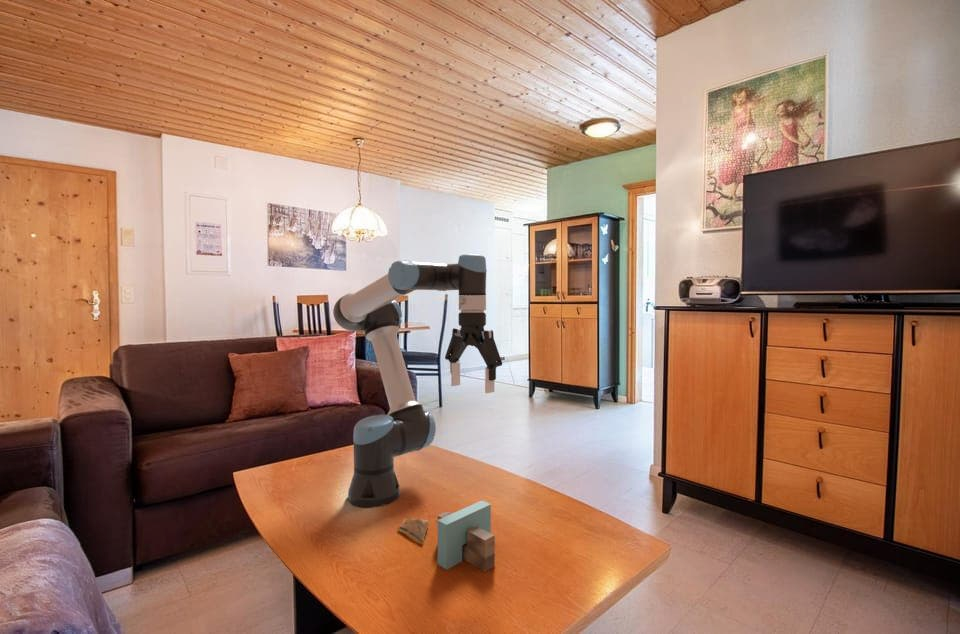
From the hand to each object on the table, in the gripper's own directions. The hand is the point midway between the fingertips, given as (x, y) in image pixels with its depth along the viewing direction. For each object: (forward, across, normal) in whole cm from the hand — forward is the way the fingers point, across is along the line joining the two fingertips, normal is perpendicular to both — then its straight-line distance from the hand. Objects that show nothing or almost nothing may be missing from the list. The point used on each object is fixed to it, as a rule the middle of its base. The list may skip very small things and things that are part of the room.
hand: (472, 388), depth 124 cm
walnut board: (+34, +14, -16) cm, 40 cm away
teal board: (+34, +14, -15) cm, 40 cm away
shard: (+35, -2, -17) cm, 39 cm away
